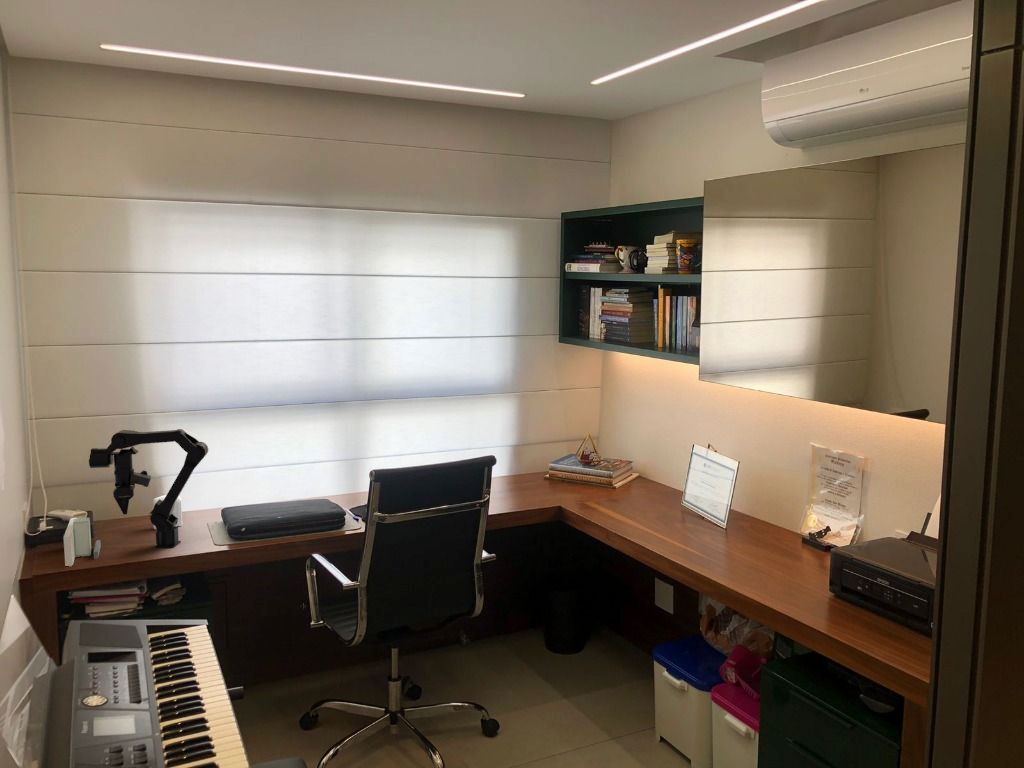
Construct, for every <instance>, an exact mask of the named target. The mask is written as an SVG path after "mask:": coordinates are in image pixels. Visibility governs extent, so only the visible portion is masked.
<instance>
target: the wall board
mask: <svg viewBox="0 0 1024 768" xmlns="http://www.w3.org/2000/svg"><path fill="white" fill-rule="evenodd" d="M74 519H78V517H70V519H69V522H68V524H67V528H66V529H65V533H63V548H64V549H63V550H64V565H65V566H69V567H73V566H72V565H74V562H75V558H76V557H75V545H74V528H73V521H74ZM101 544H102V543H101V539H98V540H97V539H96V540H95V544H94V548H93V560H98V559H99V555H100V553H101V552H100V550H101Z"/></svg>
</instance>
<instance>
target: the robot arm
mask: <svg viewBox="0 0 1024 768" xmlns="http://www.w3.org/2000/svg"><path fill="white" fill-rule="evenodd" d="M110 442H111V443H109V446H107V447H105V448H103V447H102V448H101V447H100V448H97V447H93V448H91V449H90V454H89V459H88V465H89V468H90V469H104V468H105V469H107V468H108V469H109V468H110V467H111V465H113V467H114V468H113V469H114V470H113V471H114V473H113V475H114V487H115V488H114V489H113V490H112V491H113V493H112V494H113V498H114V500H115V502H116V503H117V505H118V507H119V509H120V511H121V513H122V515H127V514H128V509H129V504H130V500H131V499H132V498H133V497H134V496H135V490H134V489H135V486H136V485H140V486H142V487H146V488H148V487H149V485H150V482H151V480H152V476H151V475H149V473H148V471H147V470H141V471H140V472H137V471H136V472H135V468H134V467H133V455H137V454H138V453H139V450H138V449H136V448H135V446H138V445H142V444H143V445H146V444H156V443H157V444H159V443H173V442H175V443H176V444H177V445H178V446H179V447H181V449H182V450H183V451H184V452H186V453H187V454H186V456H185V459H184V463H183V465H182V467H181V469H180V471H179V473H178V474H177V476H176V478H175V480H174V482H173V483H172V485H171V487H170V488H169V490H168V492H167V493H166V494H165V495H166V497H165V499H164V500H163V501H161V500H160V499H159V500H158V501H157V502H156V504H155V506H154V509H153V508H152V510H151V511H150V512H149V514H150V516H149V520H150V522H151V524H152V525H155V526H156V529H155V530H156V532H155V546H154V547H155V548H175V547H176V546H177V545H179V544H181V542H182V541H181V540H180V539H179V526H178V527H176V526H175V525H176V524H177V522H178V518H177V517H175V516H174V515H173V514H172V512H173V509H174V505H175V502H176V500H177V498H178V496H180V494H181V492H182V491H183V490H184V487H185V486H186V484H187V482H188V481H189V479H190V477H191V475H192V474H193V472H194V470H195V469H196V468H197V467H198V465H199V464H200V463H201V461H202V460H203V459H204V458H205V457H206V456H207V454H208V452H209V446H208V445H207V444H206V443H205V442H203V441H199V440H198V439H197V438H195V437H194V436H192V435H191V434H188V433H187V432H186V431H185V430H184V429H182V428H181V429H180V428H178V429H171V430H169V429H168V430H160V431H159V430H156V431H136V430H131V429H130V430H129V429H122V430H119V431H116V433H113V435H112V436H111V438H110ZM117 450H119V451H117Z"/></svg>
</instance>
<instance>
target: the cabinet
mask: <svg viewBox="0 0 1024 768" xmlns="http://www.w3.org/2000/svg"><path fill="white" fill-rule="evenodd" d="M73 528H74V545H75V558H78V557H80V556H81V557H90V556H92V553H93V552H92V536H91V521H90V517H80V518H79V517H78V518H77V519H74V521H73ZM81 557H80V558H81Z"/></svg>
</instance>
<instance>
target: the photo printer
mask: <svg viewBox="0 0 1024 768" xmlns="http://www.w3.org/2000/svg"><path fill="white" fill-rule="evenodd" d="M166 495H167V494H165V495H160V496H157V497H155V498H153V501H152V510H153V509H154V506H155V504H156V502H157V501H158V500H159V499H160V500H161V501H163V500H164V499H165V497H166ZM182 507H183V506H182V498H181V496H180V495H179V496H178V498H177V500H176V502H175V505H174V509H173V512H172V514H173V515H174V516H175V517H177V518H178V522H177V524H176V525H175V526H176V527H177V526H178V527H182V526H183V508H182ZM152 525H153V524H152ZM153 529H154V530H157V529H156V526H155V525H153Z"/></svg>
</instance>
